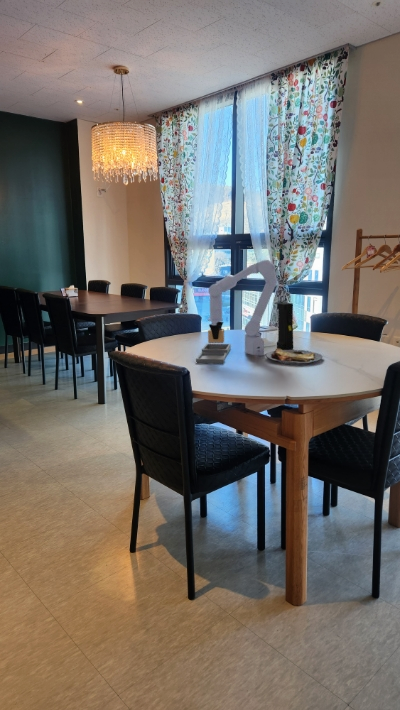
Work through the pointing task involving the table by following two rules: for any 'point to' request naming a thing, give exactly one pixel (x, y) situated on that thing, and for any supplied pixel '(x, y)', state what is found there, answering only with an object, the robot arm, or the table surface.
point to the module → (220, 338)
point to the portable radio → (285, 326)
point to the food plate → (293, 356)
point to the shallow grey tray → (211, 358)
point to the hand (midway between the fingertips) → (216, 338)
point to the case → (217, 348)
